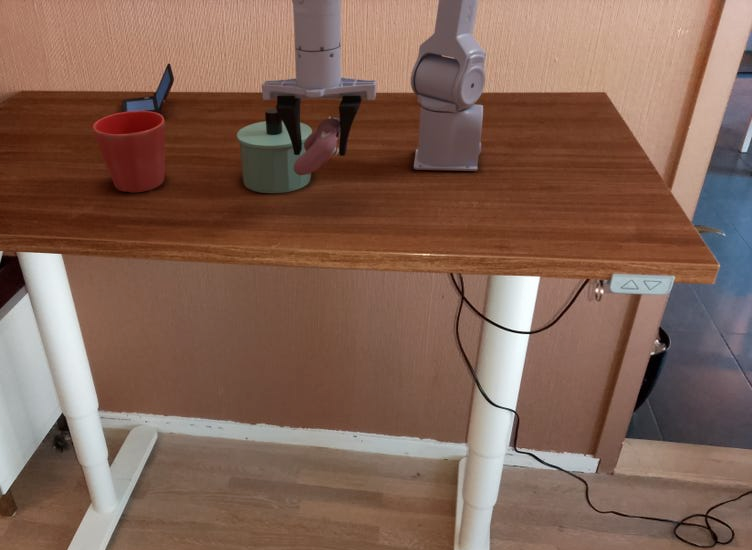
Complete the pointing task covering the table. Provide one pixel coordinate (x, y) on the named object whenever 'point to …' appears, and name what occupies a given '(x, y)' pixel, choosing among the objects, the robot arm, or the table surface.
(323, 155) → the video game controller
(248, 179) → the pot
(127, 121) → the flower pot
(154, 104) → the handheld console
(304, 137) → the pot lid
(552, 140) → the table surface
